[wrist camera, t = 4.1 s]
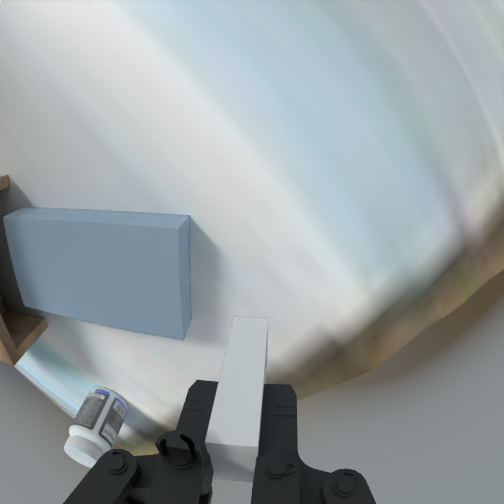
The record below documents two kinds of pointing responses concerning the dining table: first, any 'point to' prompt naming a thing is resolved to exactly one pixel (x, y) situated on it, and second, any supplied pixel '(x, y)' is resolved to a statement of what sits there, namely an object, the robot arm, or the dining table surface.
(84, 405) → the pill bottle
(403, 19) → the dining table surface
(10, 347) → the shelf
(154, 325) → the panel
